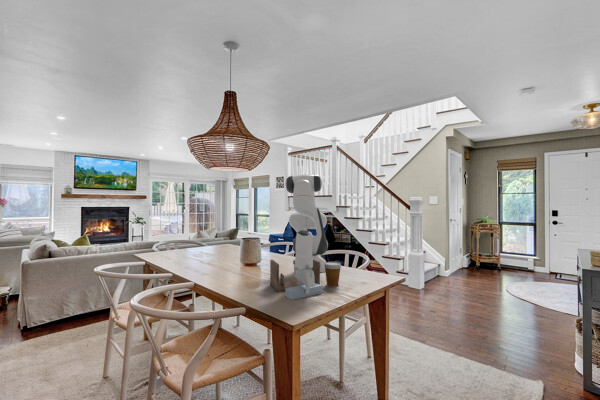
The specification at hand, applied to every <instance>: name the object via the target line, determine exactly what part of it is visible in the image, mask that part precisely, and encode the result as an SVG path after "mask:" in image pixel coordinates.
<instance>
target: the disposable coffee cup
mask: <svg viewBox="0 0 600 400" xmlns="http://www.w3.org/2000/svg"><path fill="white" fill-rule="evenodd" d="M324 266H325V279H326V285H327V286H328V287H338V286H339V282H340V275H341V267H342V264H341V262H338V261H328V262H327V261H326V263H325V265H324Z"/></svg>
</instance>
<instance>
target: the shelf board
mask: <svg viewBox="0 0 600 400" xmlns="http://www.w3.org/2000/svg"><path fill="white" fill-rule="evenodd" d="M305 288H306V287H305V285H301V286H295V287H290V288H285V291H284V293H285V294H284V295H285V297H286V298H288V299H290V300H295V299H301V298H306V297H310V296H315V295H319V294H323V285H322V284H320V285H319V284H316V283H315V285H314V287H310V289H309V294H305Z"/></svg>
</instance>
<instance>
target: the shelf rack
mask: <svg viewBox="0 0 600 400" xmlns="http://www.w3.org/2000/svg"><path fill="white" fill-rule="evenodd" d="M269 263H270V265H269V267H270V268H269V269H270V270H269V271H270V272H269V276H270V278H269V283H270V286H271V287H272V289H273V290H274V291H275V292H276V293H281V292H285V288H290V287H295V286H299V282H298V279H296V280H286V281H285V274H283V273H280V264H279V263H278V262H276V261H275V260H274V259H270V260H269ZM311 269H312V270H313V272H314V280H315V283H316V284H319V285H321V272H320V262H319V261H317V260H315V259H313V267H312V268H311ZM303 285H304V284H303Z"/></svg>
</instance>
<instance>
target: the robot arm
mask: <svg viewBox="0 0 600 400" xmlns="http://www.w3.org/2000/svg"><path fill="white" fill-rule="evenodd" d="M322 187H323V179H322V178H321V175H319V174H315V173H314V174H300V175H299V174H298V175H290V176H288V177H287V178H286V181H285V188H286V191H287V193H290V194H292V206H293V209H294V211H296V212H295V213H291V214H290V216H289V219H288V223H289V226H290V227H291V228H293V229H294V231H295V232H296V235H295V237H294V238H293V239H292V251H293V252H294V253H295V257H294V258H295V259H293V260H292V264H293V273H294V278H295V279H296V280H298V282H299V286H301V285H303V284H304V285H305V287H306V288H305V294H309V289H310V287H314V285H315V280H314V272H313V270H312V269H311V268H312V267H313V259H315V260H317V261H319V262H320V273H324V272H325V266H324V265H325V263H326V262H327V261H326V259H324V258H323V257H322V255H325V254H326V253H327V251H328V247H329V243H328V240H327V237H326V233H325V228H326V225H327V224H328V218H327V215H325V214H324V213H322V212H321V211H320V208H319V207H317V205H316V200H315V193H317V192H320V191H321V190H322ZM309 230H315V231H316V235H313V234H312V232H311V231H309ZM325 273H326V272H325Z"/></svg>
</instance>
